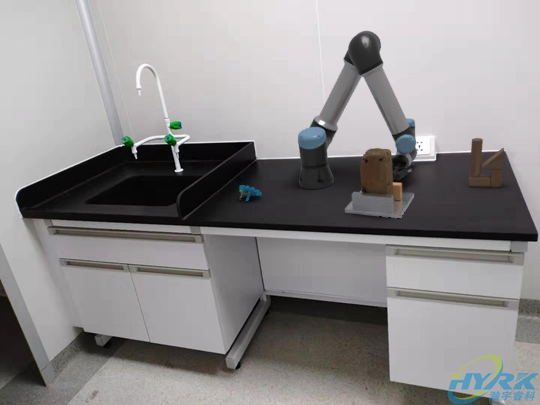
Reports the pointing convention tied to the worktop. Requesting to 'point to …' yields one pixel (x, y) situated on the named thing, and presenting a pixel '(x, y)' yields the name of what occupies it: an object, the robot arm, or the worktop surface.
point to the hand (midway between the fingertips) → (383, 184)
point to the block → (377, 172)
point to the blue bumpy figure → (248, 191)
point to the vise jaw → (397, 191)
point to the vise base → (397, 207)
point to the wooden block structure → (485, 166)
